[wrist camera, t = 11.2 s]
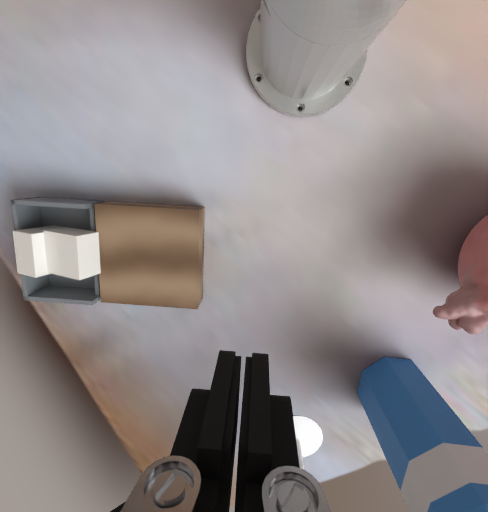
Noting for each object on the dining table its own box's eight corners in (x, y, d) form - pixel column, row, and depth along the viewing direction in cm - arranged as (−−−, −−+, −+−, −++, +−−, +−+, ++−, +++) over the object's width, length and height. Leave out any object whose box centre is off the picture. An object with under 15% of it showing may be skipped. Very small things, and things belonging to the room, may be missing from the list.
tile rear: (71, 228, 38) (53, 225, 39) (31, 234, 34) (12, 230, 35) (74, 267, 40) (57, 263, 41) (35, 277, 35) (17, 273, 36)
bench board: (108, 201, 39) (94, 203, 35) (204, 207, 38) (199, 210, 35) (113, 291, 42) (100, 302, 38) (202, 298, 41) (197, 309, 38)
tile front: (66, 226, 38) (43, 230, 35) (98, 232, 36) (76, 236, 33) (70, 266, 39) (47, 272, 36) (100, 273, 37) (79, 280, 35)
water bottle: (343, 395, 44) (444, 665, 20) (381, 344, 42) (549, 577, 17) (399, 424, 45) (563, 718, 20) (440, 375, 42) (679, 640, 18)
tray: (38, 197, 39) (10, 199, 35) (104, 201, 39) (85, 204, 34) (48, 287, 42) (24, 300, 38) (110, 291, 42) (92, 305, 37)
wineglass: (257, 435, 46) (254, 620, 27) (303, 403, 45) (335, 578, 25) (291, 468, 48) (311, 669, 28) (337, 439, 46) (393, 632, 26)
